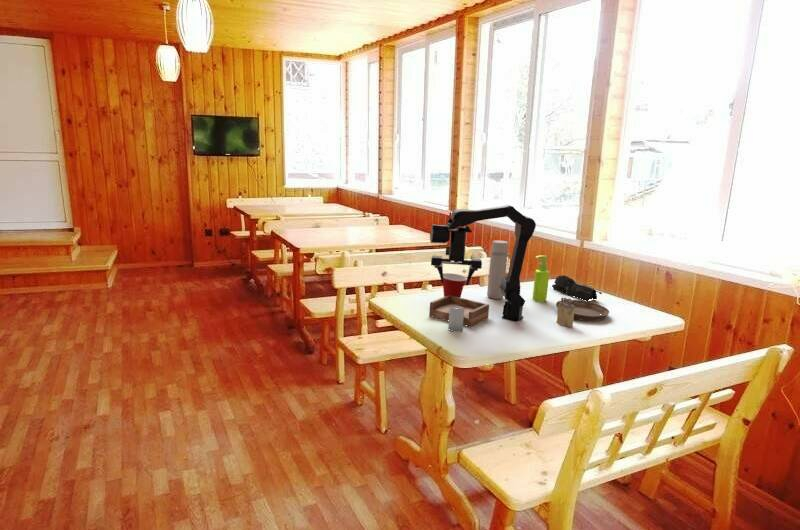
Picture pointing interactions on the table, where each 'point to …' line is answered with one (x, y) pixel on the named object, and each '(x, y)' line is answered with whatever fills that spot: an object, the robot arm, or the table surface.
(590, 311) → the plant saucer
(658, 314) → the table surface
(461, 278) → the plastic cup
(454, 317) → the grey rounded cone
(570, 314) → the tan upright block
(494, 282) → the water bottle
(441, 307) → the wooden tray
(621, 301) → the table surface
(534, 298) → the soap dispenser
